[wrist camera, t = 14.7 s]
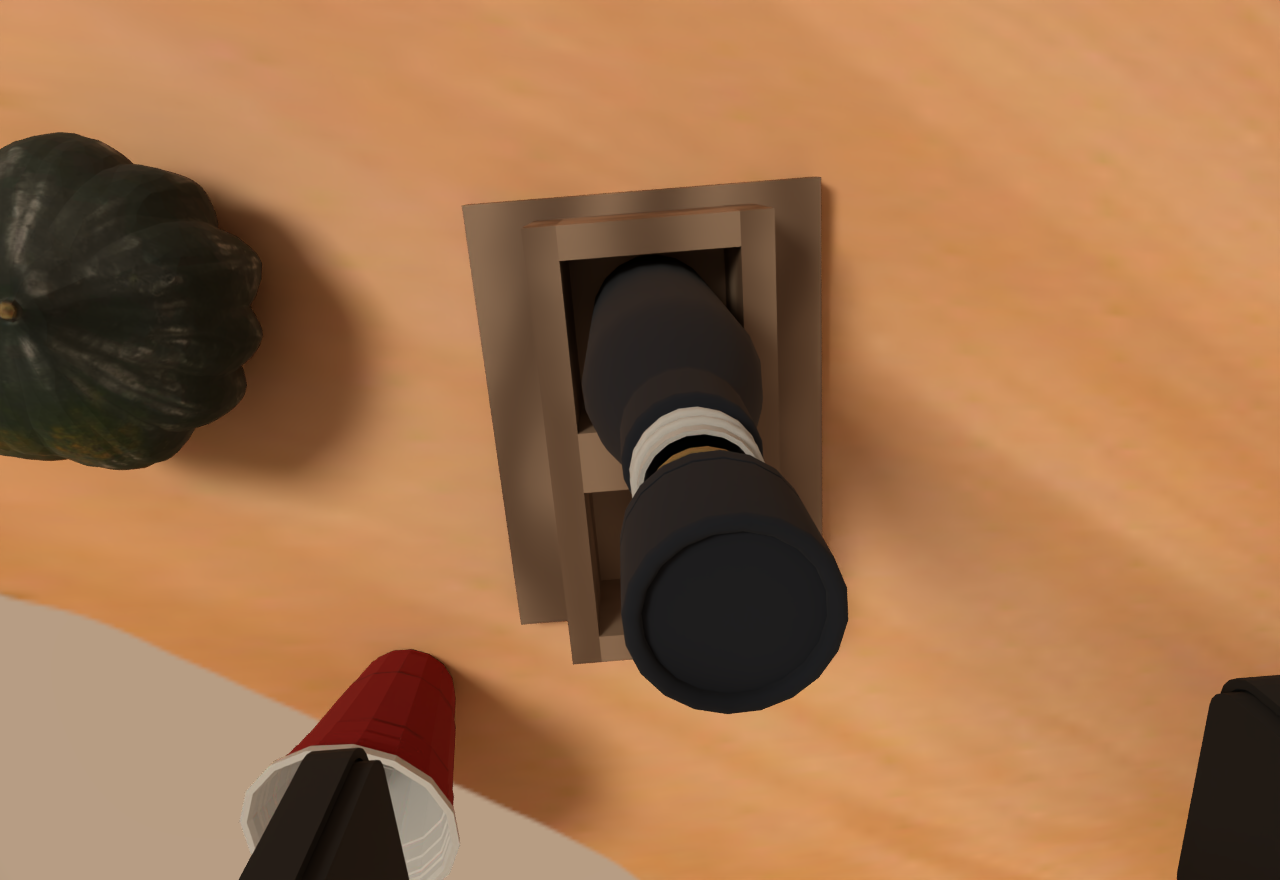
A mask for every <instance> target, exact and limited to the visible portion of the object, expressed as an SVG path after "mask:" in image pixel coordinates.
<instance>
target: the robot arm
mask: <svg viewBox="0 0 1280 880" xmlns="http://www.w3.org/2000/svg"><path fill="white" fill-rule="evenodd" d="M239 880H409V876H408V871H407V867H406V863H405V858H404V854H403V849H402V845H401V840H400V836H399V832H398V827H397V823H396V818H395V814H394V809H393V805H392V800H391V796H390V792H389V787H388V783H387V778H386V774H385V770H384V767H383V764H382V762H381V761H380V760H369V759H368V756H367V754H366V752H365V751H364V749H363V748H346V749H334V750H321V751H311V752H309V753H308V754H306V756H305V757H304V759H303V760H302V761H301V763H300V765H299V767H298V769H297V771H296V773H295V775H294V777H293V778H292V780H291V782H290V784H289V786H288V788H287V790H286V792H285V793H284V795H283V797H282V799H281V801H280V803H279V805H278V807H277V809H276V810H275V812H274V814H273V816H272V818H271V820H270V822H269V824H268V825H267V827H266V829H265V831H264V833H263V835H262V837H261V839H260V841H259V842H258V844H257V846H256V848H255V850H254V852H253V854H252V856H251V857H250V859H249V861H248V863H247V865H246V867H245V869H244V871H243V873H242V874H241V876H240V878H239ZM1177 880H1280V675H1273V676H1260V677H1248V678H1236V679H1232V680H1229V681H1228V682H1227V683H1226V684H1225V685H1224V686H1223V688H1222V691H1221V694H1216V695H1215V696H1214V697H1213V698H1212V700H1211V702H1210V705H1209V711H1208V716H1207V721H1206V726H1205V731H1204V736H1203V742H1202V747H1201V752H1200V757H1199V762H1198V767H1197V773H1196V778H1195V783H1194V788H1193V793H1192V798H1191V804H1190V809H1189V814H1188V819H1187V824H1186V829H1185V835H1184V840H1183V845H1182V850H1181V855H1180V861H1179V866H1178V871H1177Z"/></svg>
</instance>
